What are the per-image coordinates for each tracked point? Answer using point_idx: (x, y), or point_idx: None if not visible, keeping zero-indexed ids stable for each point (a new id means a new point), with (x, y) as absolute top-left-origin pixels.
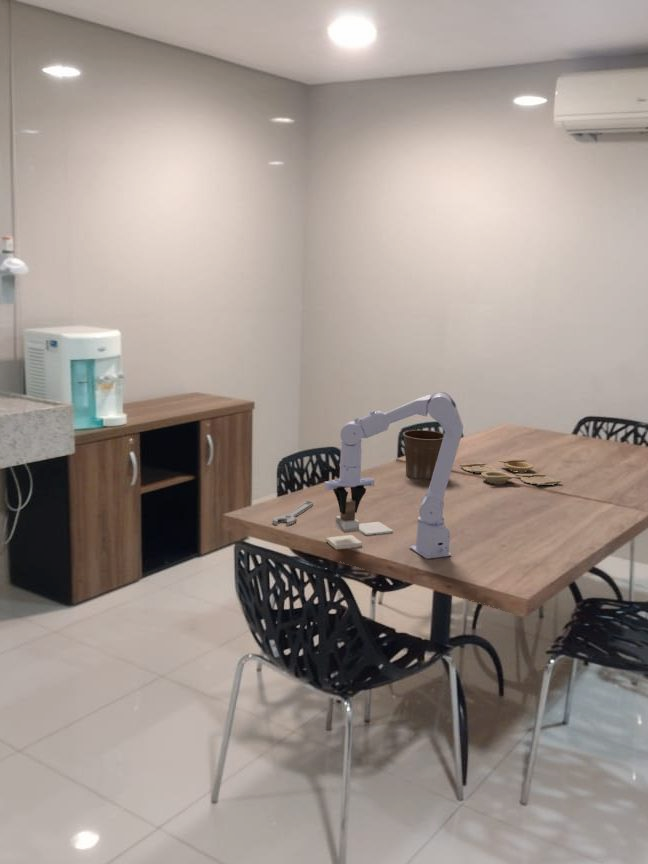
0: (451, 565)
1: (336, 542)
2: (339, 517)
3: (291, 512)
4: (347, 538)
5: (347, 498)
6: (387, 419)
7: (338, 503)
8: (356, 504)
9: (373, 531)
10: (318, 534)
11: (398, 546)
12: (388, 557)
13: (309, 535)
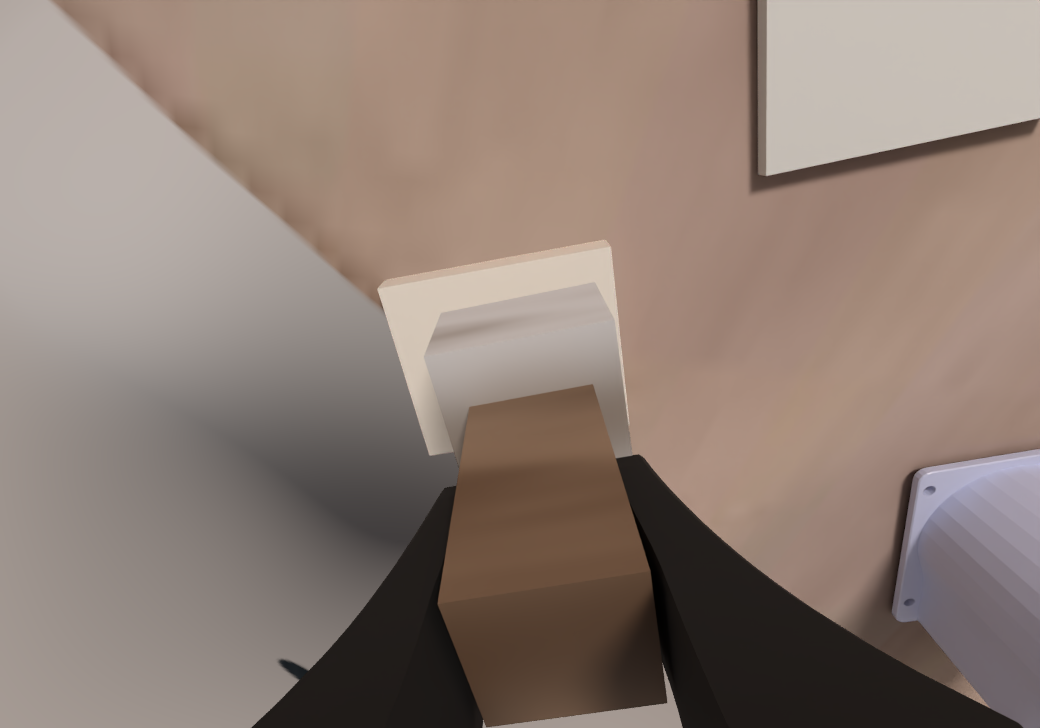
0: (949, 674)
1: None
2: (459, 402)
3: None
4: None
5: (569, 592)
6: None
7: (394, 573)
8: (662, 655)
9: (863, 119)
10: (336, 85)
11: (865, 429)
12: None
13: (250, 107)
